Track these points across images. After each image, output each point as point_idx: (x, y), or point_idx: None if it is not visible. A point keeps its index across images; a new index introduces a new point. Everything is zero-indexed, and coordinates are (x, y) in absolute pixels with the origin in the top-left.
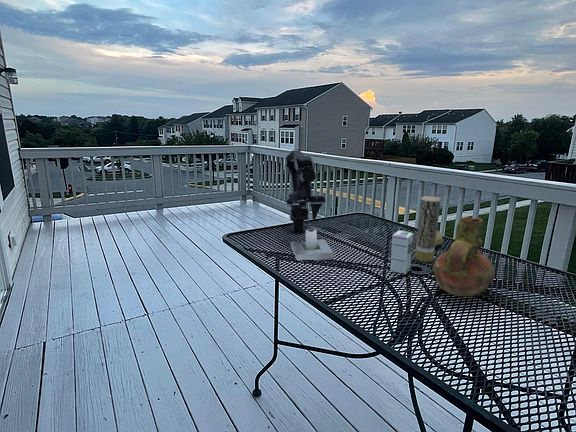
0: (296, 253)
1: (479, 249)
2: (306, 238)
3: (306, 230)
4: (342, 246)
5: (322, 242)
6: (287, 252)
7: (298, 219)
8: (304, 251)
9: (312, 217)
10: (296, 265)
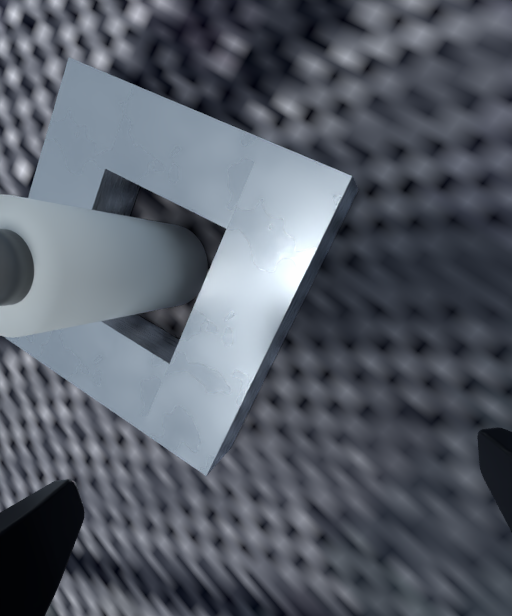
0: (88, 71)
1: None
2: (77, 207)
3: (37, 223)
4: (147, 528)
5: (157, 407)
6: (286, 107)
7: (484, 436)
8: (87, 153)
9: (43, 502)
10: (71, 55)
